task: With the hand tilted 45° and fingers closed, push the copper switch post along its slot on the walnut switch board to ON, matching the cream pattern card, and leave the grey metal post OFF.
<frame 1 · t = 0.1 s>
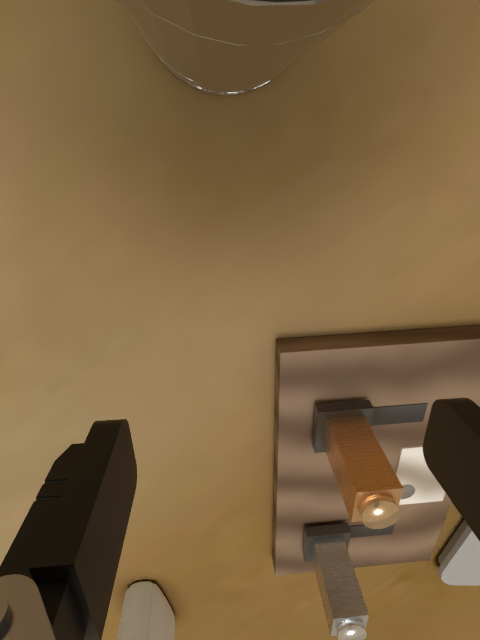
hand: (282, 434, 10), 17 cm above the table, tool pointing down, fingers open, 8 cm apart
switch board: (363, 462, 36), on the table
copper switch: (357, 463, 26), point 7 cm above the table, slide at 0.0 cm
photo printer: (152, 599, 45), on the table
grey switch: (337, 582, 34), point 7 cm above the table, slide at 0.0 cm
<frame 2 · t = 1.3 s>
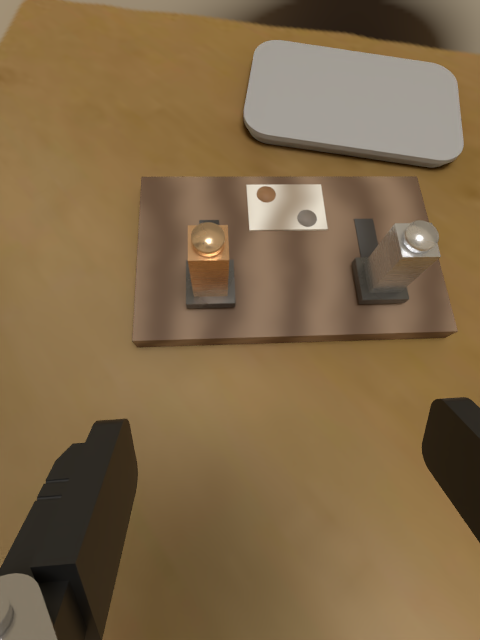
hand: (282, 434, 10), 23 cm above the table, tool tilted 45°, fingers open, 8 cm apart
switch board: (287, 259, 38), on the table
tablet: (348, 114, 46), on the table
copper switch: (209, 264, 30), point 7 cm above the table, slide at 0.0 cm
grey switch: (397, 261, 31), point 7 cm above the table, slide at 0.0 cm
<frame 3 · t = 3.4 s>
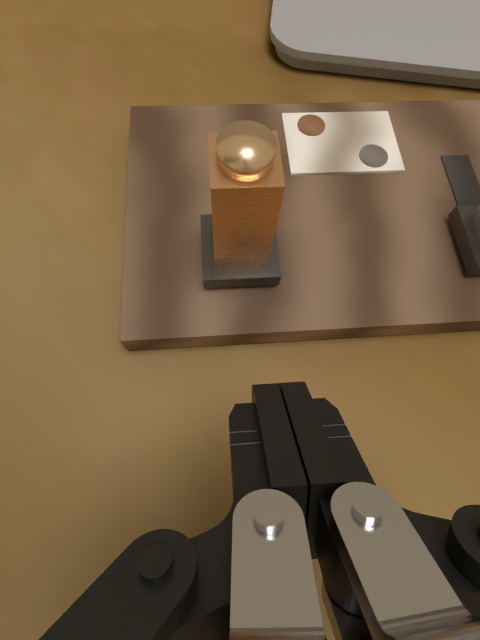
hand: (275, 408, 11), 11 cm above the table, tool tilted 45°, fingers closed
switch board: (344, 218, 26), on the table
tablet: (405, 34, 35), on the table
copper switch: (241, 210, 18), point 7 cm above the table, slide at 0.0 cm
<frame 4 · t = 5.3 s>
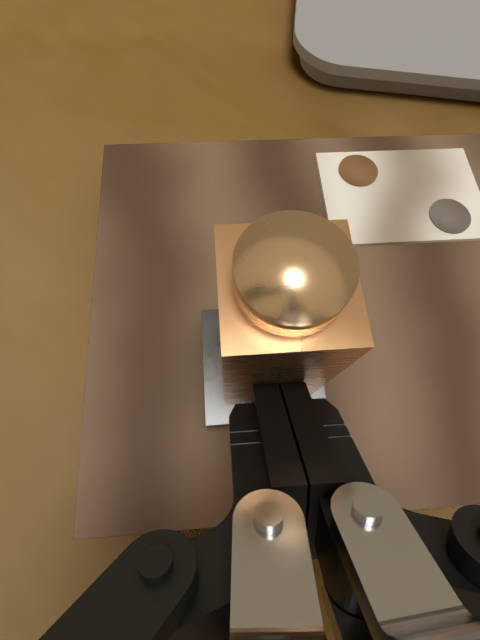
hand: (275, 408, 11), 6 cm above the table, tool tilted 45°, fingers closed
switch board: (405, 302, 18), on the table
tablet: (464, 39, 27), on the table
copper switch: (271, 333, 11), point 7 cm above the table, slide at 0.6 cm, touching gripper
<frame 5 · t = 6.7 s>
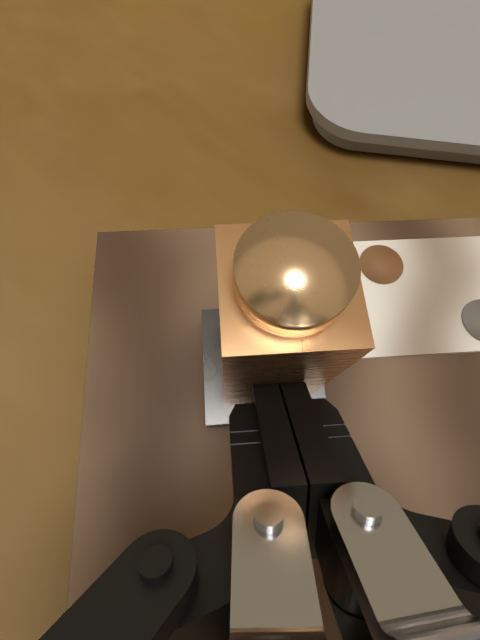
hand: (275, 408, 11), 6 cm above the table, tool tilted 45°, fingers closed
switch board: (433, 412, 16), on the table
copper switch: (271, 333, 11), point 7 cm above the table, slide at 6.0 cm, touching gripper
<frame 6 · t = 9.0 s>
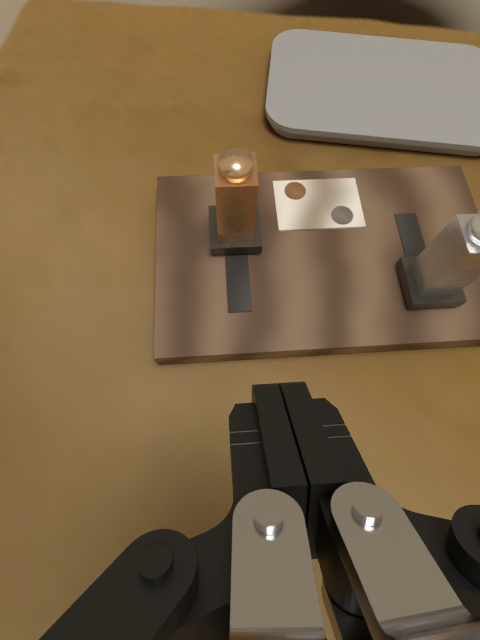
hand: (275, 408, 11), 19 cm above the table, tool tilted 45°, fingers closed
switch board: (320, 261, 34), on the table
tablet: (376, 103, 43), on the table
copper switch: (235, 201, 28), point 7 cm above the table, slide at 6.0 cm
grey switch: (455, 258, 27), point 7 cm above the table, slide at 0.0 cm
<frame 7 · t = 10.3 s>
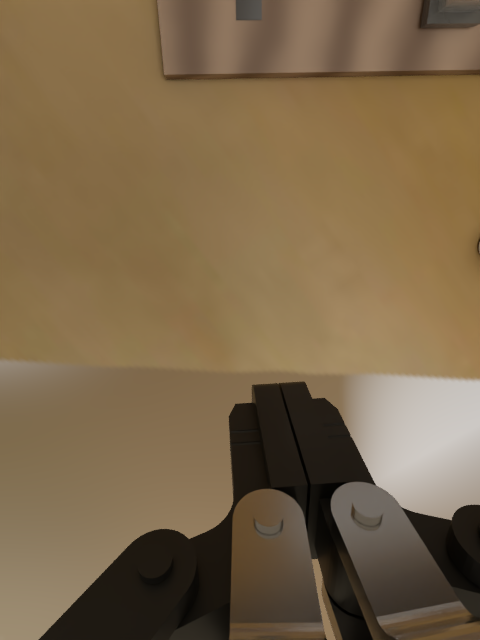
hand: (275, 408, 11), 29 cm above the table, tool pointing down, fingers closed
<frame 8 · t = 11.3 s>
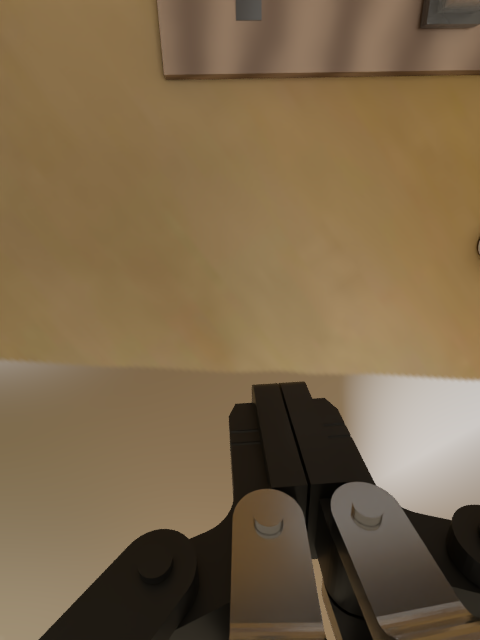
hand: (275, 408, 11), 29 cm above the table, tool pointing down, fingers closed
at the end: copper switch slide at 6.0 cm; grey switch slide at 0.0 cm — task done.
